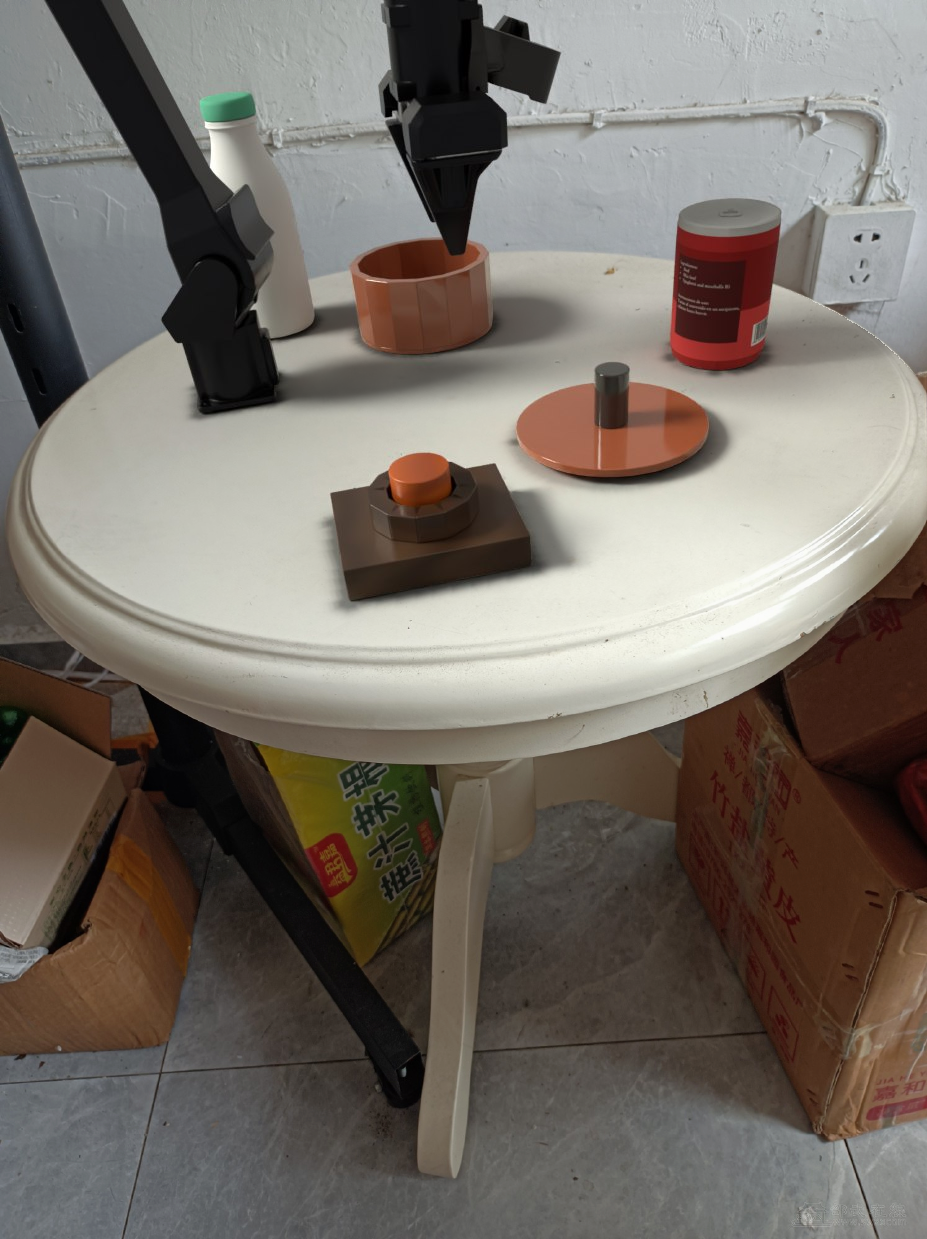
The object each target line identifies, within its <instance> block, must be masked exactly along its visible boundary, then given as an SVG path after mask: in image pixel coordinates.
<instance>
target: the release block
mask: <svg viewBox="0 0 927 1239" xmlns="http://www.w3.org/2000/svg"><path fill="white" fill-rule="evenodd" d="M448 463H449V468H450V477H451V486H452V491H451V493H450V495H449V497H447V498H445V499H443V500H441V501H440V502H438V503H435V504H430V505H425V506H419V507H415V506H405V505H400V504H398V503H397V502H396V501H395V500H394V499H393V497H392V491H391V485H390V479H389V472H388V471H389V469H388V470H385V471H384V472H381V473H380V474H378V475H377V476H376V477H375V478H374V480H373V481H372V482H371V483H370V485H365V486H361V487H355V488H348V489H343V490H337V491H333V492H330V493H329V496H330V503H331V508H332V514H333V520H334V526H335V527H334V528H335V533H336V539H337V545H338V551H339V557H340V563H341V564H340V565H341V570H342V575H343V579H344V583H345V589H346V592H347V597H348V600H349V601H357V600H361V599H366V598H373V597H375V596H382V595H387V594H392V593H397V592H404V591H408V590H413V589H418V588H423V587H429V586H434V585H440V584H445V583H449V582H454V581H459V580H464V579H468V578H469V579H470V578H476V577H481V576H485V575H491V574H495V573H500V572H501V573H502V572H505V571H512V570H516V569H521V568H526V567H531V566H532V565H533V556H532V555H533V554H532V536H531V533H530V531H529V529H528V527H527V525H526V523H525V522H524V519H523V517H522V515H521V513H520V510H519V509H518V506H517V504H516V502H515V500H514V498H513V496H512V494H511V492H510V490H509V488H508V486H507V484H506V482H505V480H504V478H503V476H502V474H501V472H500V470H499V467H498V466H497V464H496V463H495V462H493V463H486V464H482V465H476V466H471V467H464V466H461V465H460V464H458V463H456V462H453V461H448Z"/></svg>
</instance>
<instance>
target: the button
mask: <svg viewBox="0 0 927 1239" xmlns="http://www.w3.org/2000/svg"><path fill="white" fill-rule="evenodd" d="M448 462H449V461H448V460H447V458H446V457H445V456H443V455H440V454H438V453H435V452H415V453H410V454H406V455H404V456H401V457H399V458H397V459H395V460H394V461H393V462H392V463H391V464H390V465H389V468H388V470H389V471H388V470H387V471H388V472H389V479H390V485H391V491H392V497H393V499H394V500H395V501H396V502H397V503H398V504H400V505H405V506H415V507H419V506H425V505H430V504H435V503H438V502H440V501H441V500H443V499H445V498H447V497H449V495H450V493H451V491H452V486H451V477H450V468H449V463H448Z"/></svg>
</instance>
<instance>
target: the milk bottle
mask: <svg viewBox="0 0 927 1239" xmlns="http://www.w3.org/2000/svg"><path fill="white" fill-rule="evenodd" d="M256 108H257V107H256V104H255V100H254V96H253V94H252V93H250V92H247V91H232V92H224V93H218V94H217V93H216V94H212V95H209V96H205V97H203V98H201V99H200V100H199V109H200V114H201V117H202V119H203V121H204V128H205V129H206V130H208V133H209V137H210V138H209V139H210V164H209V167H210V168H211V170H212V171H213V172H214V174H215V175H216V176H217V177H218V178H219V179H220V180H221V181H222V182H223V183H224V184H225V185H226V186H227V187H229V188H230V189H231V190H232V191H233V192H235V191H236V190H238V189H239V188H240V187H242V186H243V185H244V184H247V185H249V187H250V189H251V191H252V193H253V195H254V198H255V201H256V204H257V208H258V210H259V212H260V215H261V216H262V218H263V219H264V221H265V223H266V224H267V225H268V226H269V227H270V228H271V229H272V230H273V231H274V235H273V236H272V237H271V239H270V242H271V245H272V248H273V253H274V261H273V265H272V269H271V273H270V275H269V276H268V278H267V279H266V281H265V282H264V284H263V285H262V287H261V288H260V290H259V294H258V301H257V302H256V304H254V305H253V306H252V308H251V309H250V310H257V314H258V318H259V323H260V327H261V328H264V327H266V328H267V329H268V330H269V334H270V338H271V339H277V338H282V337H287V336H291V335H295V334H297V333H300V332H301V331H304V330H306V329H308V328H309V327H310V326H311V325H312V324H313V322H314V320H315V315H316V314H315V309H314V303H313V297H312V292H311V288H310V282H309V277H308V272H307V268H306V262H305V257H304V252H303V248H302V243H301V236H300V234H299V229H298V223H297V218H296V214H295V210H294V206H293V201H292V198H291V195H290V192H289V188H288V186H287V184H286V181H285V178H284V177H283V175H282V173H281V171H280V169H279V168H278V166H277V165H276V163H275V162H274V161H273V159H272V158H271V156H270V154H269V153H268V152H269V151H267V148H266V147H265V145H264V143H263V141H262V139H261V136H260V133H259V132H258V127H257V122H258V121H259V119H258V117H257V109H256Z"/></svg>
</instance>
